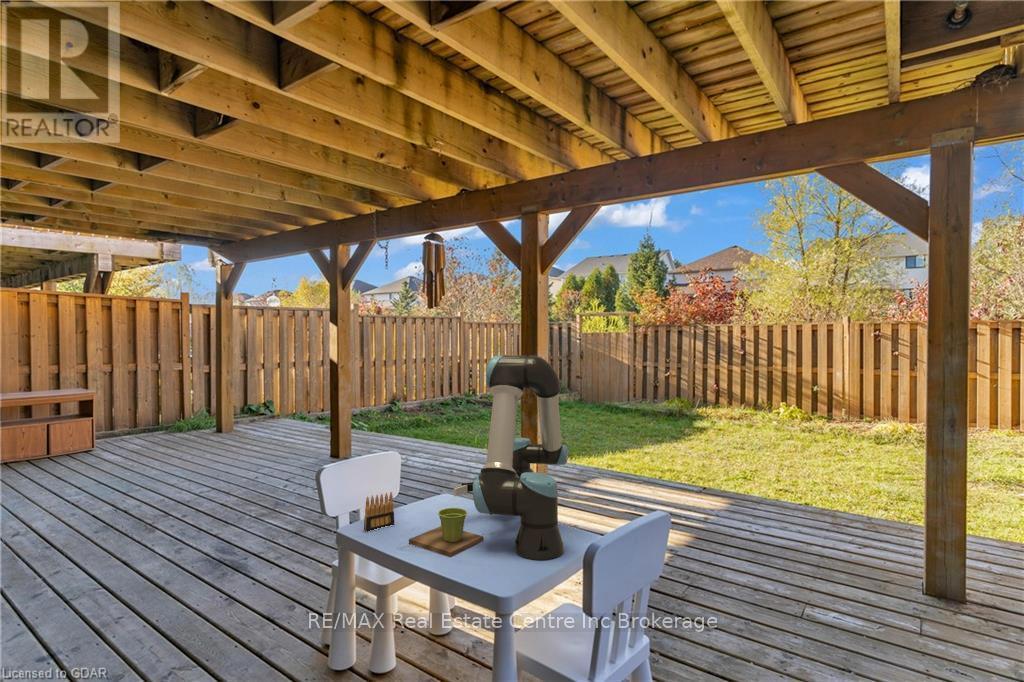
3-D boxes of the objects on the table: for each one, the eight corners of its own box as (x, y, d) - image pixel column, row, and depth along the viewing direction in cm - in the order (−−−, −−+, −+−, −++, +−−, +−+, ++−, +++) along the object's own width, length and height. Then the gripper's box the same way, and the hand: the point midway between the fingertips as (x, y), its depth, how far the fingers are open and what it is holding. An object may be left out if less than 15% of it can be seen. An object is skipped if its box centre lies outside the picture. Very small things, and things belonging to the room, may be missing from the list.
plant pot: (462, 532, 174) (462, 506, 174) (470, 542, 165) (470, 514, 165) (435, 535, 171) (435, 509, 171) (441, 546, 162) (441, 518, 162)
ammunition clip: (366, 532, 178) (366, 497, 178) (363, 531, 179) (363, 496, 179) (394, 525, 185) (394, 491, 185) (392, 524, 186) (392, 490, 186)
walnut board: (483, 540, 170) (483, 536, 170) (450, 557, 157) (450, 552, 157) (443, 529, 181) (443, 525, 181) (408, 543, 168) (408, 539, 168)
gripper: (533, 499, 189) (498, 513, 171) (479, 488, 203) (442, 500, 186) (533, 478, 189) (498, 490, 172) (480, 469, 203) (442, 479, 186)
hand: (469, 495), depth 179 cm, fingers open, 13 cm apart
